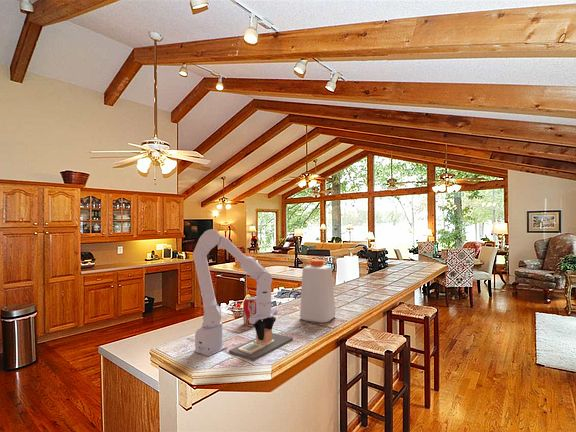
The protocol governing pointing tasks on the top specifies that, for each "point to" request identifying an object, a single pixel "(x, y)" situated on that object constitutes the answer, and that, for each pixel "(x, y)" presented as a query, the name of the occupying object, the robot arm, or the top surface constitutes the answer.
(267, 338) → the stub
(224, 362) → the top surface
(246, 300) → the soda can
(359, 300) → the top surface
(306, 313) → the plastic bottle
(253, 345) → the photo frame
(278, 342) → the mat
